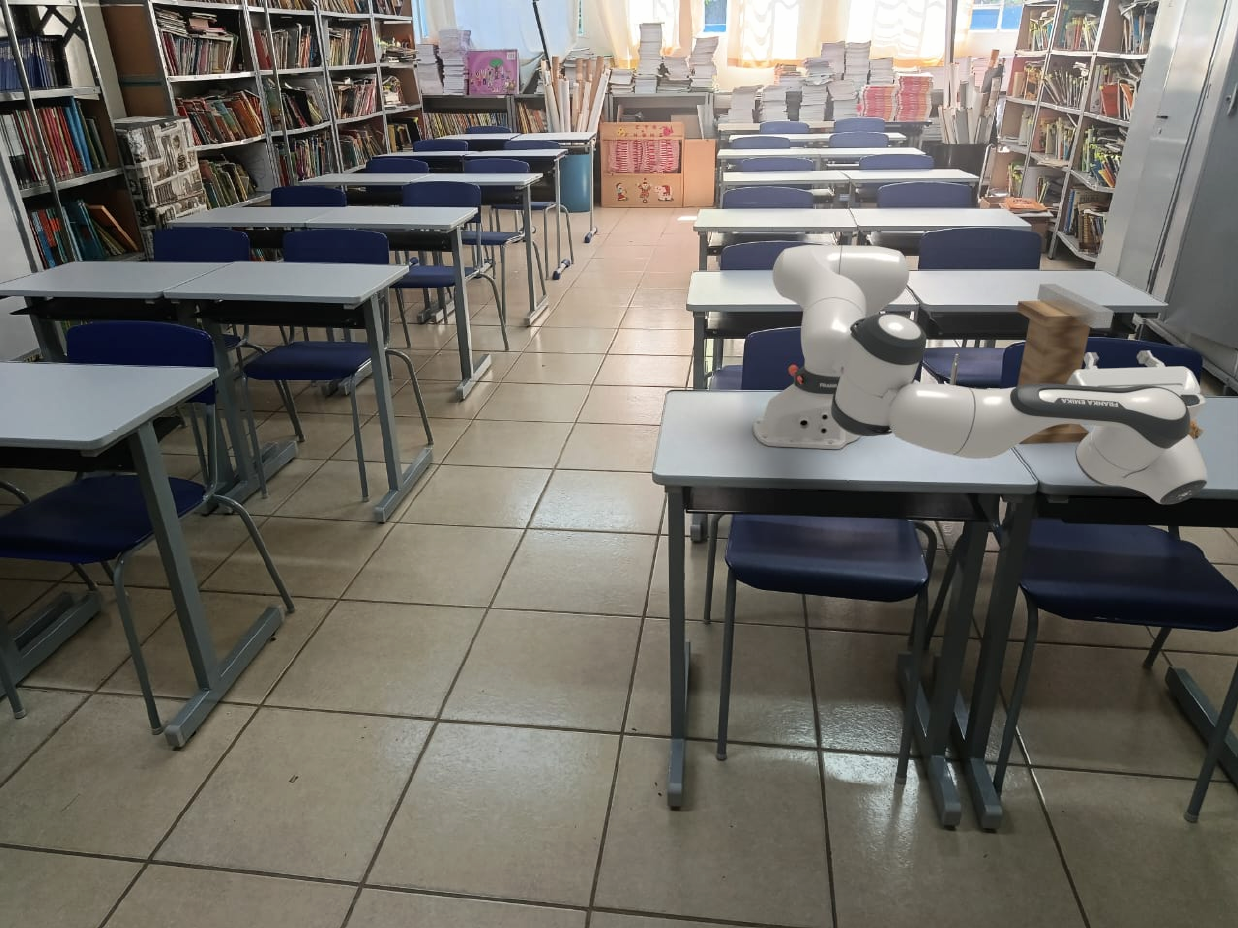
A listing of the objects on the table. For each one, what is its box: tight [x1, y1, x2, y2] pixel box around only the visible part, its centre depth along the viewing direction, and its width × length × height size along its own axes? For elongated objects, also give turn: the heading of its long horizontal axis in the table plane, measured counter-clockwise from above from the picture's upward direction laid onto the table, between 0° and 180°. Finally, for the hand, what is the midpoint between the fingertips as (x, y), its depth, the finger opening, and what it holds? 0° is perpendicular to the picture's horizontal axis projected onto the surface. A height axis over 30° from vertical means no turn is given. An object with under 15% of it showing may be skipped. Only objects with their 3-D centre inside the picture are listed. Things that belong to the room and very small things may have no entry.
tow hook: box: [948, 353, 960, 386], centre depth 186 cm, size 8×13×9 cm
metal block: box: [1036, 283, 1115, 329], centre depth 159 cm, size 3×22×3 cm, turn 0°
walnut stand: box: [1016, 300, 1091, 445], centre depth 169 cm, size 14×14×26 cm
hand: (1115, 353), depth 147 cm, fingers open, 8 cm apart
